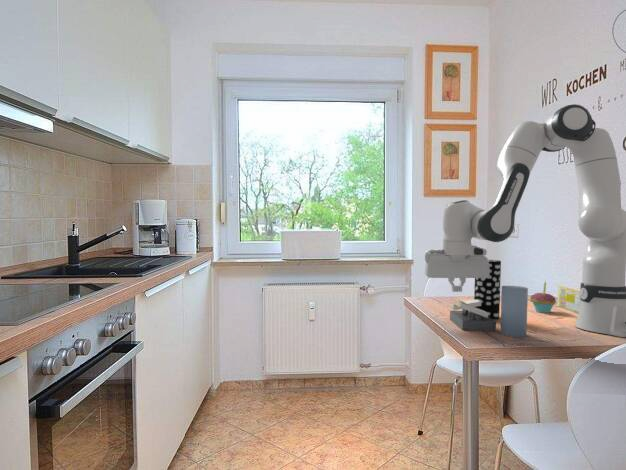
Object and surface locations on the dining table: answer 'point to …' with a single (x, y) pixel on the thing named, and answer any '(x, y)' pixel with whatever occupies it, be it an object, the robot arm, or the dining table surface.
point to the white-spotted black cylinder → (489, 290)
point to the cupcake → (543, 301)
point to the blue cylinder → (514, 311)
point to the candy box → (569, 299)
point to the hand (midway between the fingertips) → (456, 291)
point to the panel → (472, 321)
